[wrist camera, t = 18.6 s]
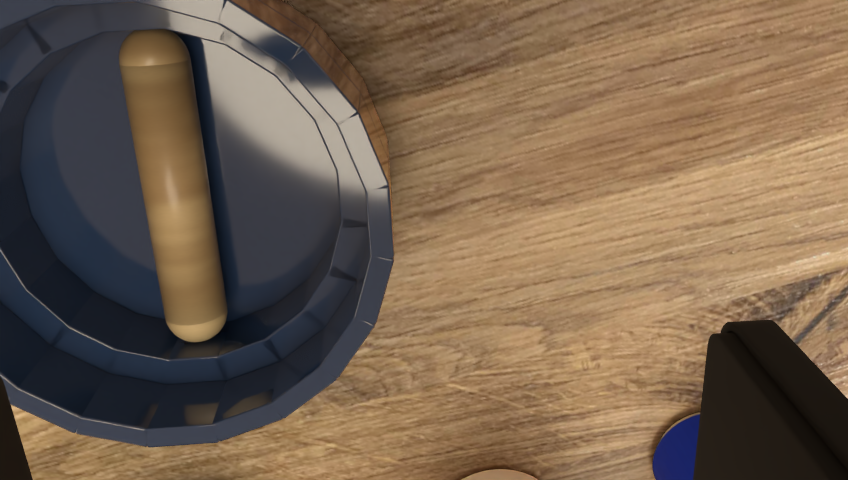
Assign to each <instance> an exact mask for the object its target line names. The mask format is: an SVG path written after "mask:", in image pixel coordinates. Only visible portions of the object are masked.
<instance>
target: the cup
mask: <svg viewBox="0 0 848 480" xmlns="http://www.w3.org/2000/svg"><path fill="white" fill-rule="evenodd" d="M461 480H538V479H536V478H535V477H533V476H531V475H528V474H526V473H523V472H519V471H515V470H508V469H494V470H486V471H482V472H478V473H475V474H472V475H470V476H468V477H466V478H463V479H461Z"/></svg>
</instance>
